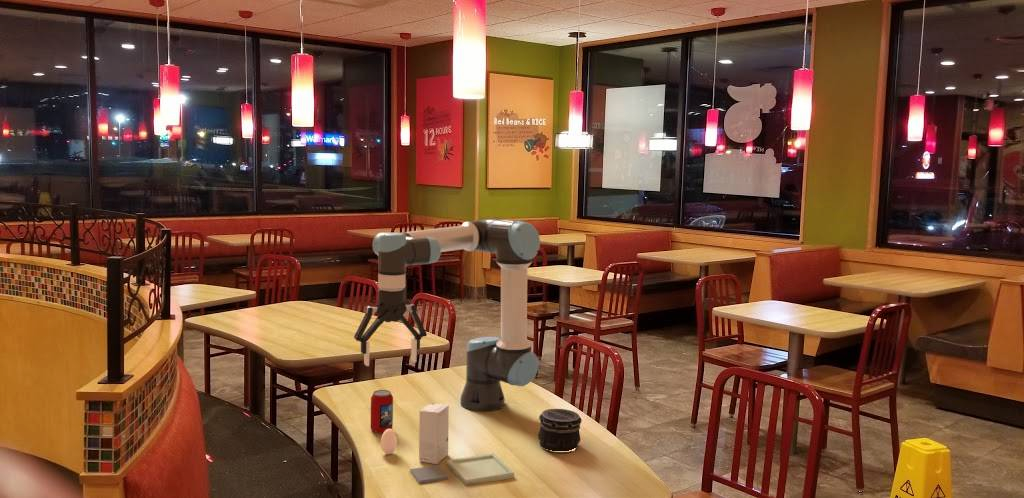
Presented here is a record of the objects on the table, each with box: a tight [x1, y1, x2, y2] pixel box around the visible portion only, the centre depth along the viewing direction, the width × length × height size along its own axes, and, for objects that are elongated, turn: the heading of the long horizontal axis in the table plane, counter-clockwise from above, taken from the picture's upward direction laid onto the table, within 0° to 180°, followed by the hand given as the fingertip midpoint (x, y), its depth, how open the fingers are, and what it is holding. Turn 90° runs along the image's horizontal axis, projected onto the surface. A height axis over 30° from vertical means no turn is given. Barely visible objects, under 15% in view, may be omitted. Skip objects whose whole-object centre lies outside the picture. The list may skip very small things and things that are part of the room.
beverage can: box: [370, 389, 394, 434], centre depth 244 cm, size 7×7×12 cm
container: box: [537, 408, 583, 451], centre depth 236 cm, size 13×13×10 cm
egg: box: [380, 428, 398, 455], centre depth 226 cm, size 5×5×7 cm
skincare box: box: [418, 403, 450, 465], centre depth 224 cm, size 8×6×15 cm
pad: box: [409, 464, 449, 485], centre depth 213 cm, size 8×8×1 cm
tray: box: [446, 453, 515, 486], centre depth 216 cm, size 14×14×2 cm
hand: (390, 362), depth 223 cm, fingers open, 13 cm apart
